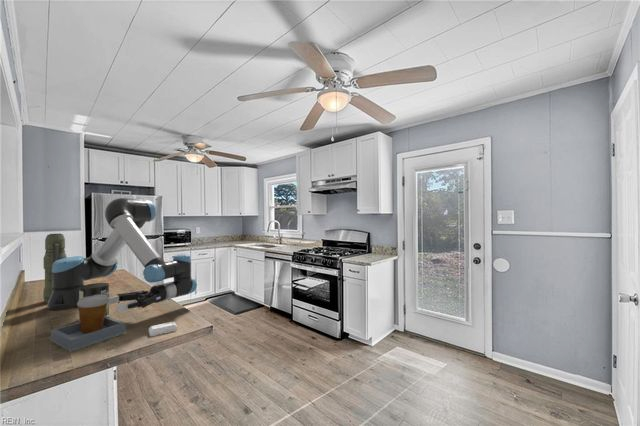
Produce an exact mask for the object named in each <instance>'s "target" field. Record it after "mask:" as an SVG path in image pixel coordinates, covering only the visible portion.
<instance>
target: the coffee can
mask: <svg viewBox="0 0 640 426" xmlns="http://www.w3.org/2000/svg"><path fill="white" fill-rule="evenodd" d="M95 295H105V296H107V297H108V298H110V283H108V282H96V283H90V284H84V286H81V287H79V299H81V298H84V297H88V296H95ZM109 309H110V305H107V307H106V312H105V316H107V317H109V316H110V310H109ZM78 317H79V316H78ZM78 321H79V322H80V317H79V319H78Z"/></svg>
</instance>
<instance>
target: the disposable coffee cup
mask: <svg viewBox="0 0 640 426" xmlns="http://www.w3.org/2000/svg"><path fill="white" fill-rule="evenodd" d="M108 301H109V299H108V297H107V296H105V295H95V296H88V297H84V298H81V299H79V301H78V303H77V305H78V307H77V308H78V313H79V314H78V317H80V321H79V322H80V327H81V332H82V333H91V332H94V331H98V330H101V329H102V327H103V322H104V317H105V312H106V307H107V303H108Z"/></svg>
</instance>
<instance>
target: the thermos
mask: <svg viewBox="0 0 640 426" xmlns="http://www.w3.org/2000/svg"><path fill="white" fill-rule="evenodd" d="M44 244H45V245H44V247H45V249H44V250H45V253H44V255H43V269H44V288H43V292H42V295H43V296H42V297H43V303H44V304H48V301H49V299H50V296H51V294H52V266H53V263H54V262H55V261H57V260H59V259H63V258H68V256H67V254H66V250H65V249H66V238H65V236H64V234H63V233H49V234H47V235H46V237H45V239H44Z"/></svg>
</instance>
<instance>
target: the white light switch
mask: <svg viewBox="0 0 640 426" xmlns="http://www.w3.org/2000/svg"><path fill="white" fill-rule="evenodd" d="M176 330H177V331H178V326H177V324H176V322H174V321H169V322H164V323H161V324H160V323H159V324H156V325H150V327H149V328H148V335H149V337H155V336H158V335H159V334H160V335H163V333H164V334H167V333H172V331H173V332H177V331H176ZM160 335H159V336H160Z"/></svg>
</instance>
